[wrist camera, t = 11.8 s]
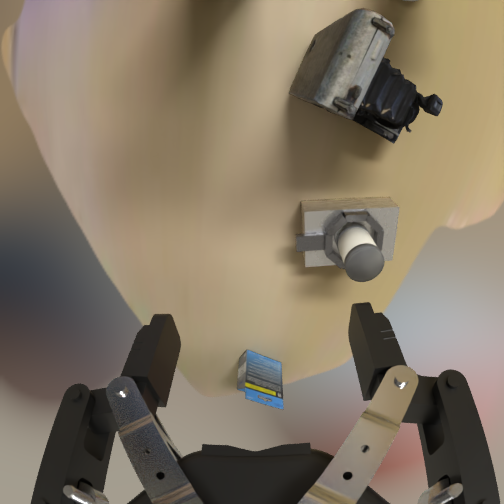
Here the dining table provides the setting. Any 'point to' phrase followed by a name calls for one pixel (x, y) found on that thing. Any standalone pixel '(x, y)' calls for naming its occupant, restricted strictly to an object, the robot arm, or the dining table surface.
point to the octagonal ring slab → (335, 217)
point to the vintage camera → (360, 76)
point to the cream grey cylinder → (359, 252)
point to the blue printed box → (260, 379)
